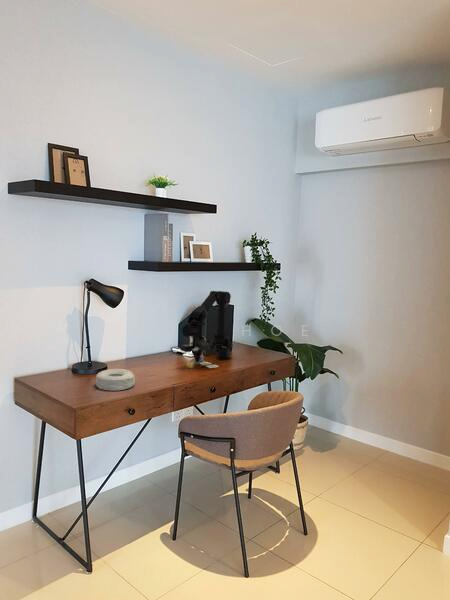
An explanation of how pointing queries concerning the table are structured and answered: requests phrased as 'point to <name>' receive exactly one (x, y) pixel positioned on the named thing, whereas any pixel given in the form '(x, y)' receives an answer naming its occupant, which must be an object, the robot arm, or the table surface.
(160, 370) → the table surface
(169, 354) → the table surface
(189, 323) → the robot arm
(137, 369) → the table surface
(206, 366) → the label tile
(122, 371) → the grey stone ring
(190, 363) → the swing arm
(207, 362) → the label tile
